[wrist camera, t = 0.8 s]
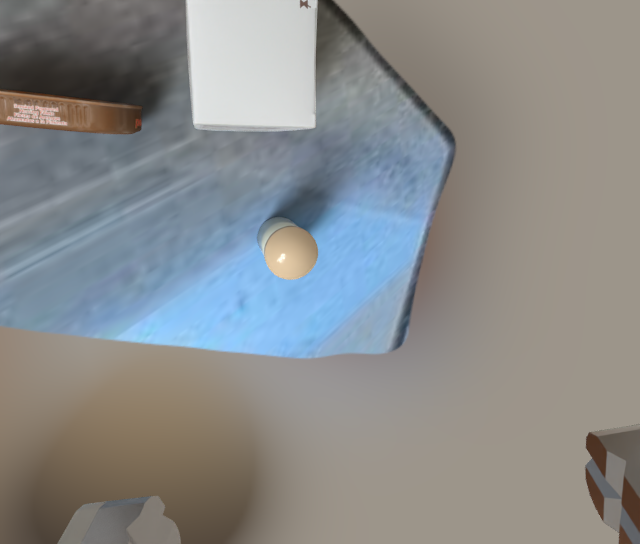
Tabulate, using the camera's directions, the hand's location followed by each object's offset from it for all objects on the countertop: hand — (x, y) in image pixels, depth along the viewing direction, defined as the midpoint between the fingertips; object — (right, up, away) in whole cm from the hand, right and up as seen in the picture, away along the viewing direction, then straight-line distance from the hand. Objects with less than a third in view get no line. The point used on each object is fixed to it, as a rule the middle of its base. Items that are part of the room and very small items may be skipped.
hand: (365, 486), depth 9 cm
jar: (-6, +8, +44) cm, 45 cm away
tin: (-26, +20, +36) cm, 48 cm away
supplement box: (-10, +24, +39) cm, 46 cm away
